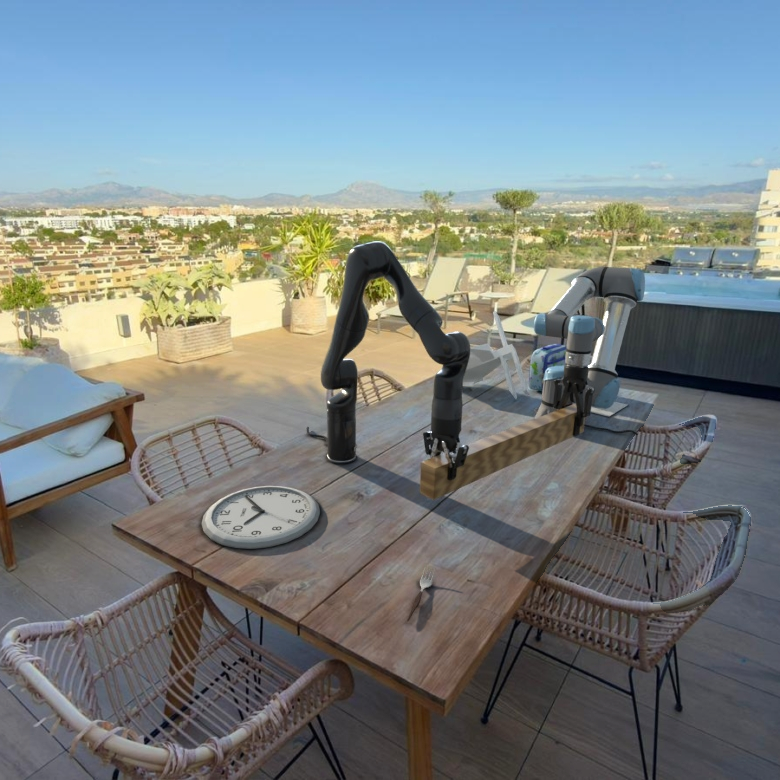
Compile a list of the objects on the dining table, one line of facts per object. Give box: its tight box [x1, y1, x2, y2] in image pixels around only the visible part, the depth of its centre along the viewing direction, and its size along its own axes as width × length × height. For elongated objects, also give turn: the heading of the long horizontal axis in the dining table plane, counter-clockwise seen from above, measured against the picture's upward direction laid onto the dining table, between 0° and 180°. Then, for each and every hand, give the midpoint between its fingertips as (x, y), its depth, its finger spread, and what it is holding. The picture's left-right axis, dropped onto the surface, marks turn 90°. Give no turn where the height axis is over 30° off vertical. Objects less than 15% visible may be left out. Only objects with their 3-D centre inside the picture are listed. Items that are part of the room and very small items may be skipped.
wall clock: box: [201, 485, 321, 550], centre depth 137 cm, size 30×2×30 cm
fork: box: [406, 565, 436, 622], centre depth 107 cm, size 3×16×2 cm, turn 160°
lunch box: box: [528, 343, 567, 392], centre depth 248 cm, size 26×11×21 cm, turn 134°
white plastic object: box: [438, 310, 531, 400], centre depth 245 cm, size 37×45×31 cm
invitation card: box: [591, 401, 629, 418], centre depth 226 cm, size 21×1×15 cm
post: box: [419, 403, 586, 501], centre depth 153 cm, size 73×5×9 cm, turn 131°
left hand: (443, 475), depth 134 cm, fingers closed on post, 5 cm apart
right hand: (568, 432), depth 174 cm, fingers closed on post, 5 cm apart
